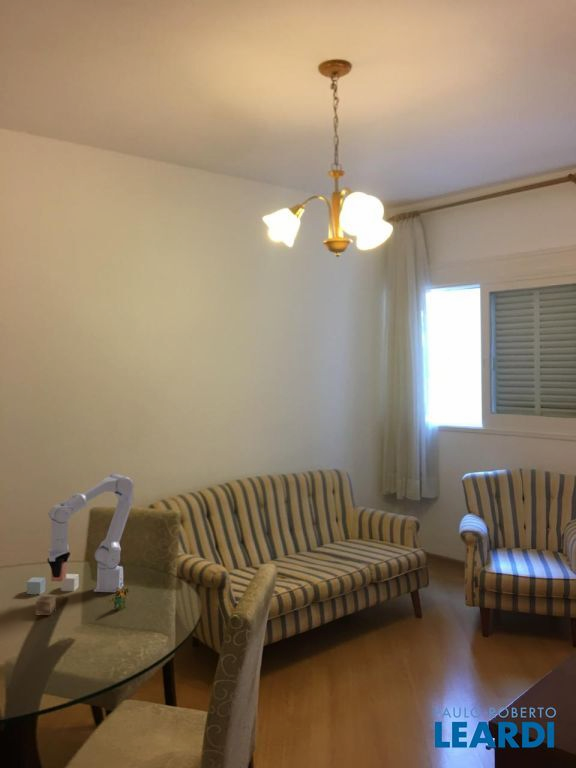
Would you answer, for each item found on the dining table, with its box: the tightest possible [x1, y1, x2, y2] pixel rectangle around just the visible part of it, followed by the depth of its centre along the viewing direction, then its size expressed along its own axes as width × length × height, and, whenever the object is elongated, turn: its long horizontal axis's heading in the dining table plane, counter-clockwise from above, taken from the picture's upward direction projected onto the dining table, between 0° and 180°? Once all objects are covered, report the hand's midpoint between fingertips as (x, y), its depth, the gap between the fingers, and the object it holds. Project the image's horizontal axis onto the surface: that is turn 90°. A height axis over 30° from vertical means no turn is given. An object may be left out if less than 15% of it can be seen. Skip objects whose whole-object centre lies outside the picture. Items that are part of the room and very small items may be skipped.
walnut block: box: [35, 595, 57, 615], centre depth 223 cm, size 5×5×5 cm
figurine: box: [107, 586, 130, 612], centre depth 228 cm, size 3×12×8 cm, turn 158°
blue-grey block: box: [26, 576, 47, 595], centre depth 242 cm, size 5×5×5 cm
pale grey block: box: [60, 573, 80, 592], centre depth 247 cm, size 5×5×5 cm
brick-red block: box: [50, 562, 67, 583], centre depth 235 cm, size 4×4×6 cm
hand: (58, 574), depth 235 cm, fingers closed on brick-red block, 4 cm apart
